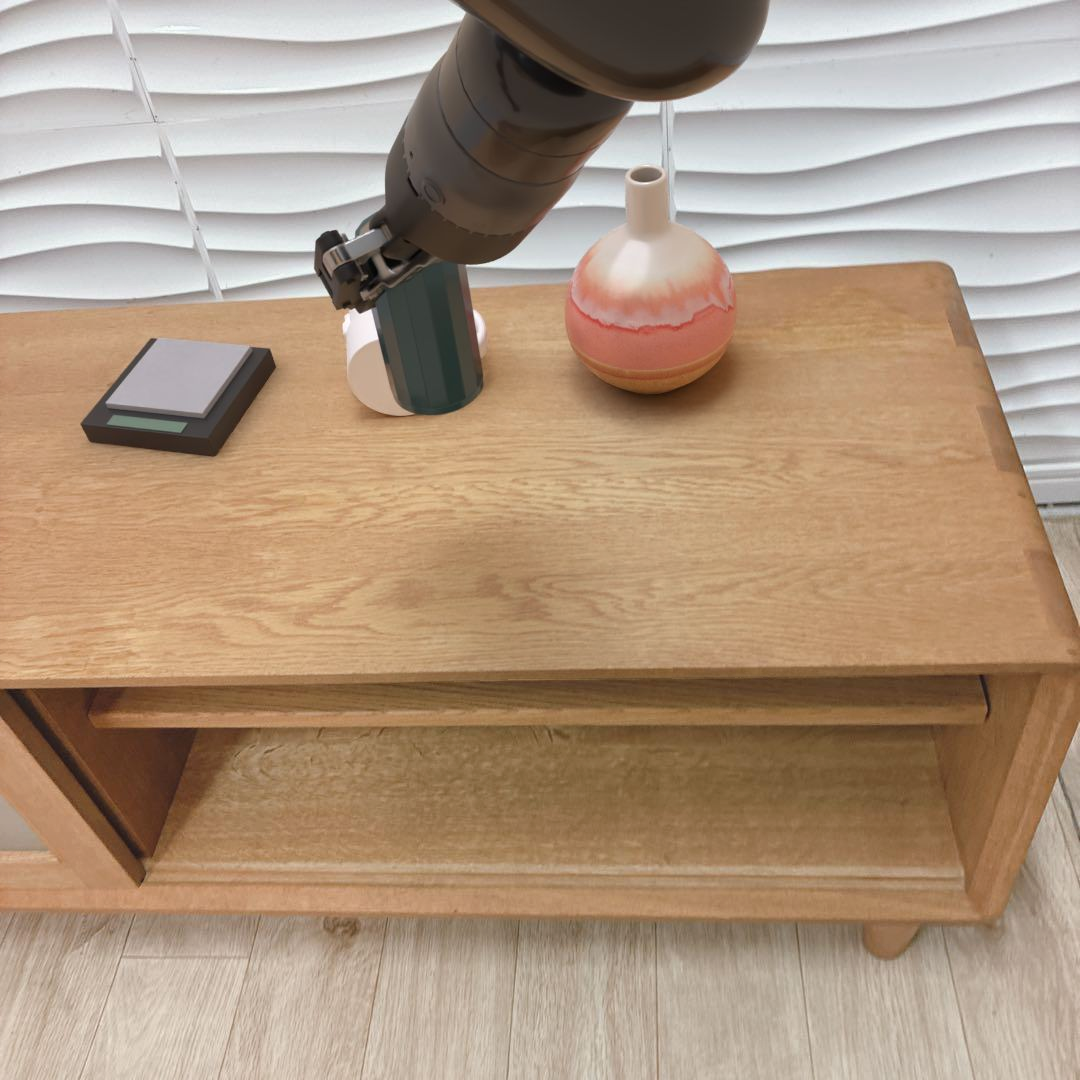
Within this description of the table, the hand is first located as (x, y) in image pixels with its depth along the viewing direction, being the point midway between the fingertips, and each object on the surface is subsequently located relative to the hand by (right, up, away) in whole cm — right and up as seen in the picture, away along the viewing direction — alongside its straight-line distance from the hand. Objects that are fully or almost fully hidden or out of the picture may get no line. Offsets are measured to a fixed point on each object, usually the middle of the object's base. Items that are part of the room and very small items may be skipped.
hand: (403, 274), depth 63 cm
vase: (+17, -1, +27) cm, 32 cm away
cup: (+2, -6, +4) cm, 8 cm away
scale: (-23, -4, +30) cm, 38 cm away
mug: (-2, -2, +29) cm, 29 cm away
